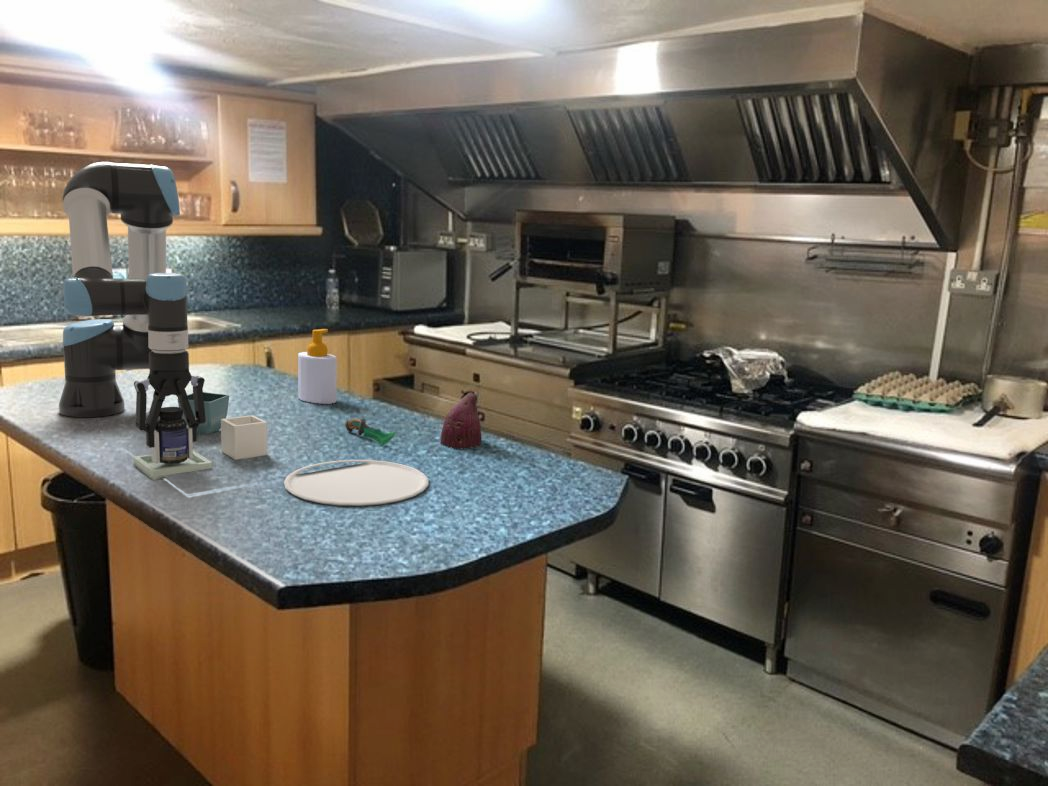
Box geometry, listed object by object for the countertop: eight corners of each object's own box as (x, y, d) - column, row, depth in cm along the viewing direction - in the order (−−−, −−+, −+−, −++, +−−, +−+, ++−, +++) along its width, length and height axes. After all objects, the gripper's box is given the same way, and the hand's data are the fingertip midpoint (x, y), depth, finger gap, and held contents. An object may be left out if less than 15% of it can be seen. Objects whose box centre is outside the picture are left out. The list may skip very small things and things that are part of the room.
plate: (361, 520, 157) (361, 514, 156) (252, 487, 172) (252, 481, 171) (457, 483, 181) (457, 477, 181) (354, 456, 196) (354, 451, 196)
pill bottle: (194, 458, 182) (193, 408, 179) (173, 466, 176) (172, 414, 174) (170, 454, 184) (169, 404, 181) (149, 461, 178) (147, 410, 176)
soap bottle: (344, 401, 248) (344, 331, 244) (323, 406, 241) (323, 334, 237) (311, 394, 255) (311, 326, 250) (290, 398, 248) (289, 328, 244)
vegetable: (485, 454, 214) (504, 398, 211) (465, 458, 204) (485, 400, 201) (450, 437, 218) (469, 382, 215) (429, 441, 208) (449, 383, 205)
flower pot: (211, 438, 203) (210, 401, 201) (177, 435, 204) (176, 398, 203) (230, 430, 211) (230, 394, 209) (198, 426, 213) (197, 391, 211)
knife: (343, 432, 216) (343, 412, 214) (349, 431, 217) (349, 411, 216) (393, 451, 201) (393, 431, 200) (399, 450, 202) (400, 430, 201)
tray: (133, 464, 180) (133, 456, 180) (190, 456, 188) (190, 448, 188) (152, 480, 172) (152, 471, 171) (212, 470, 179) (212, 462, 179)
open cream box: (221, 453, 191) (220, 419, 190) (253, 449, 196) (252, 415, 194) (235, 462, 186) (234, 426, 184) (267, 457, 191) (267, 422, 189)
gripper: (125, 356, 166) (130, 471, 171) (222, 349, 178) (224, 457, 183) (113, 350, 171) (118, 461, 176) (208, 344, 184) (210, 448, 189)
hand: (172, 459), depth 180 cm, fingers closed on pill bottle, 6 cm apart
